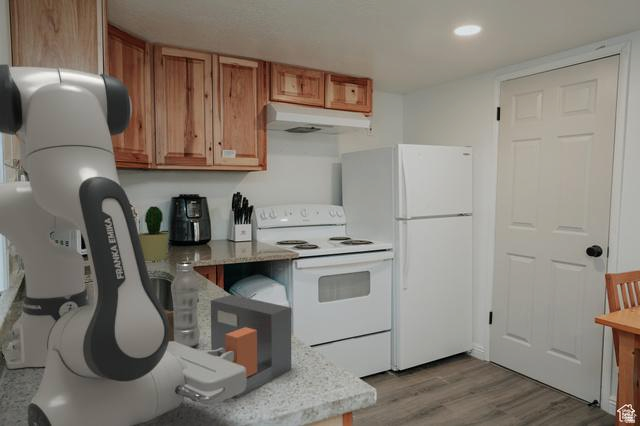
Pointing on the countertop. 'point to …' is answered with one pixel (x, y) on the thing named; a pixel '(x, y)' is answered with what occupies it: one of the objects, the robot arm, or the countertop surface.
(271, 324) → the box
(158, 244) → the potted cactus
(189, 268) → the plastic bottle
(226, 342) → the plunger
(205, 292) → the countertop surface
